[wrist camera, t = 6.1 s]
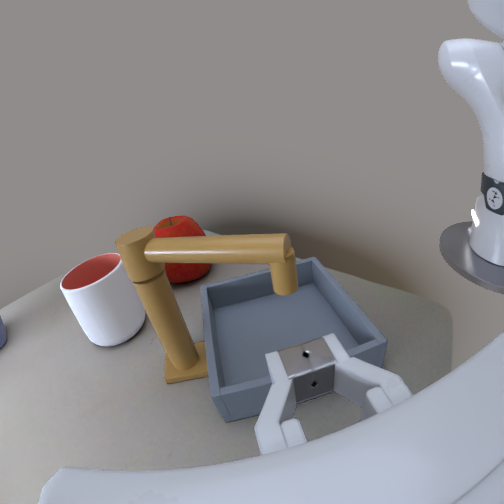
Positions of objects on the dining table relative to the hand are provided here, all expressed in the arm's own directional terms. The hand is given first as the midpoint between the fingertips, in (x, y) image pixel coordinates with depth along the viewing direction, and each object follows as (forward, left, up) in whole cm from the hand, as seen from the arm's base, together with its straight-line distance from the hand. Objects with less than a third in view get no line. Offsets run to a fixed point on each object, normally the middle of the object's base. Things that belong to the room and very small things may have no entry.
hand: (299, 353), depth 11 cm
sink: (-2, -15, -14) cm, 20 cm away
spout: (+4, -12, -2) cm, 13 cm away
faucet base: (+9, -15, -14) cm, 22 cm away
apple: (+9, -37, -14) cm, 40 cm away
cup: (+20, -25, -14) cm, 35 cm away
